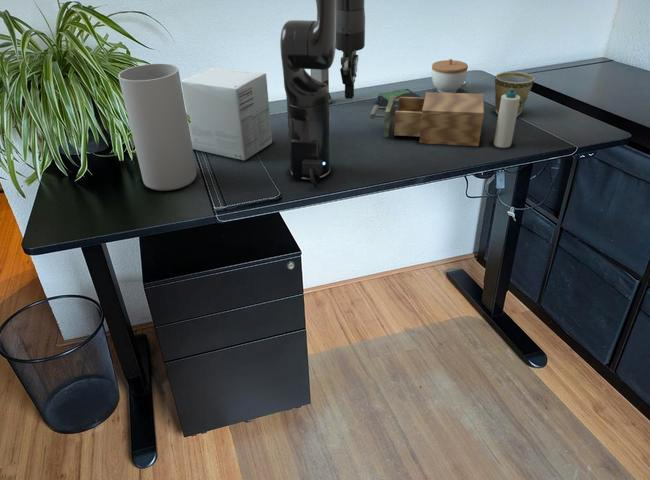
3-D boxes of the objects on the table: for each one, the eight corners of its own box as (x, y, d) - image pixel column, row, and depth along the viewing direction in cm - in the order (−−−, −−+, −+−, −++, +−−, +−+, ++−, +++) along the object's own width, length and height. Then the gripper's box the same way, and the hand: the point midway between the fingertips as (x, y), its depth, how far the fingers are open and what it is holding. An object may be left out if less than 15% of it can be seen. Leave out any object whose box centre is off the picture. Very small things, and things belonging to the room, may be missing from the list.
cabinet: (419, 143, 140) (422, 110, 134) (423, 123, 150) (426, 91, 145) (478, 146, 136) (483, 112, 131) (478, 125, 147) (483, 93, 142)
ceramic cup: (519, 122, 148) (527, 84, 142) (484, 115, 153) (489, 79, 147) (535, 107, 156) (543, 71, 150) (501, 101, 161) (507, 67, 155)
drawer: (367, 136, 143) (368, 110, 139) (374, 118, 153) (375, 94, 149) (436, 139, 138) (439, 113, 134) (439, 121, 148) (442, 96, 144)
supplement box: (273, 142, 144) (268, 72, 134) (245, 162, 135) (236, 88, 125) (221, 132, 152) (212, 65, 141) (191, 150, 143) (179, 80, 132)
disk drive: (431, 112, 157) (407, 97, 168) (432, 103, 155) (407, 87, 167) (399, 118, 154) (376, 102, 166) (399, 108, 153) (376, 92, 164)
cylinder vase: (199, 167, 134) (182, 62, 119) (193, 190, 124) (173, 79, 109) (149, 170, 134) (125, 65, 119) (138, 193, 124) (111, 82, 109)
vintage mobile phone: (324, 105, 165) (323, 16, 151) (311, 103, 168) (308, 15, 153) (331, 102, 168) (330, 14, 153) (318, 99, 170) (316, 12, 156)
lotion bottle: (511, 148, 134) (522, 92, 126) (493, 147, 135) (503, 91, 127) (510, 141, 138) (521, 86, 130) (493, 140, 139) (502, 86, 131)
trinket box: (427, 94, 169) (430, 63, 163) (431, 84, 177) (434, 54, 172) (463, 96, 166) (467, 64, 161) (465, 85, 174) (469, 55, 169)
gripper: (339, 21, 140) (340, 89, 151) (329, 34, 130) (330, 106, 140) (368, 21, 139) (367, 90, 149) (360, 34, 128) (359, 107, 139)
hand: (349, 97), depth 145 cm, fingers closed
